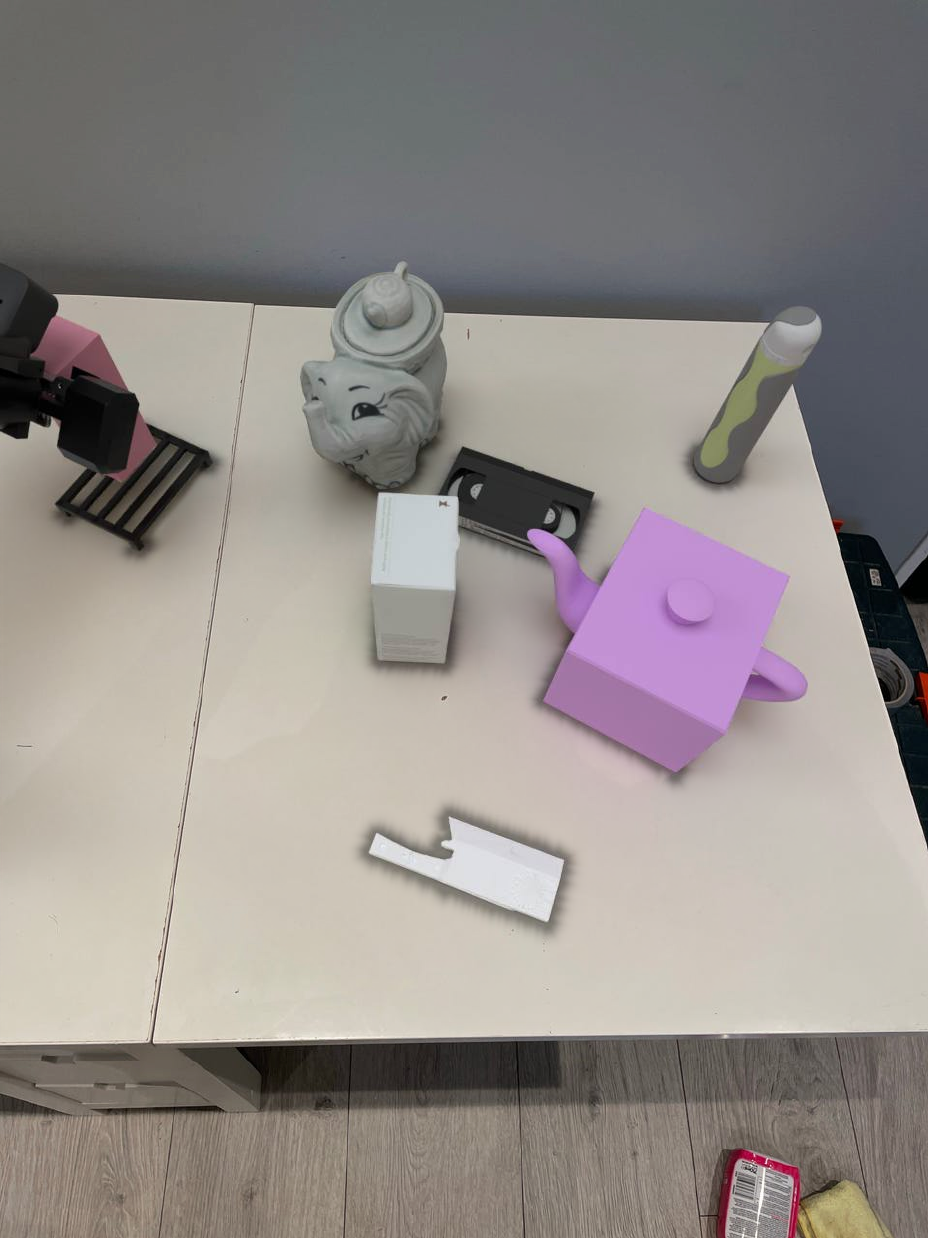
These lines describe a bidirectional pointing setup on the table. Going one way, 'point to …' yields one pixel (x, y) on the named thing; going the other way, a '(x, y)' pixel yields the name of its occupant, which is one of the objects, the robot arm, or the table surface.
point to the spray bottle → (757, 393)
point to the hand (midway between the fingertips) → (101, 392)
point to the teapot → (666, 639)
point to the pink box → (90, 354)
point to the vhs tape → (514, 501)
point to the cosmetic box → (414, 575)
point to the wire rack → (156, 510)
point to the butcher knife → (485, 868)
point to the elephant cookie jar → (379, 378)
